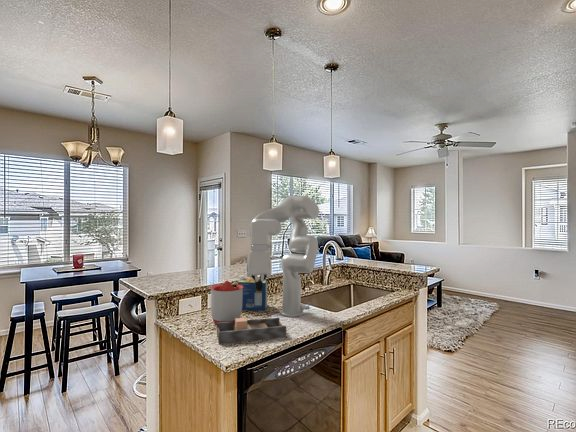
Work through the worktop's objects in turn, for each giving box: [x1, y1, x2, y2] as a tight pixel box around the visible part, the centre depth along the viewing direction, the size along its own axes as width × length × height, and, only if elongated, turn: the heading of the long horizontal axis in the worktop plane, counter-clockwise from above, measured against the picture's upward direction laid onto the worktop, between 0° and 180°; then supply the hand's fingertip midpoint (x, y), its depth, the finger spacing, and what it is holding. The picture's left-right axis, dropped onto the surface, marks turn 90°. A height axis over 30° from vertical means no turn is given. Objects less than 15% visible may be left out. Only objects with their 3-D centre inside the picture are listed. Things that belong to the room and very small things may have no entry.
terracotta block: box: [235, 317, 248, 330], centre depth 132 cm, size 4×4×4 cm
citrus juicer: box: [210, 280, 243, 325], centre depth 150 cm, size 16×17×20 cm
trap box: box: [216, 317, 287, 345], centre depth 133 cm, size 28×12×4 cm, turn 107°
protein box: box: [237, 277, 268, 312], centre depth 173 cm, size 10×15×16 cm
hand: (258, 290), depth 135 cm, fingers closed
